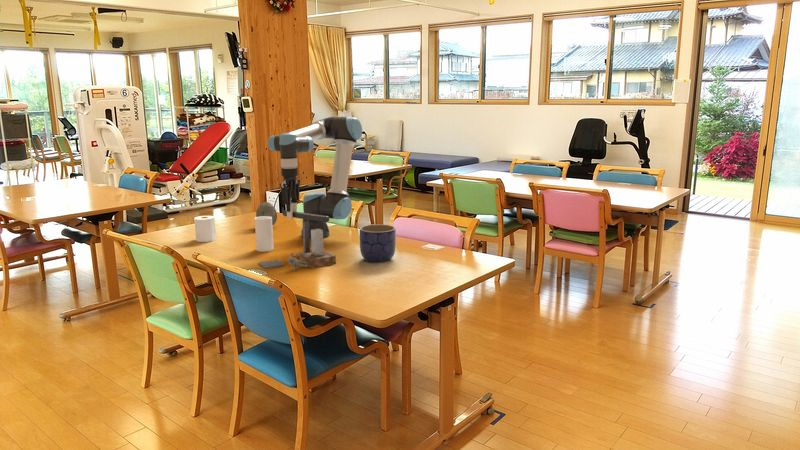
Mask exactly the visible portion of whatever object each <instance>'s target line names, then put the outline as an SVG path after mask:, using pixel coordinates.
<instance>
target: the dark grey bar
mask: <svg viewBox="0 0 800 450" xmlns="http://www.w3.org/2000/svg"><path fill="white" fill-rule="evenodd" d="M292 213H293V218H294V219H302V221H305V222H306V221H308V220H314V221H321V222H326V223H328V222H329V221H330V218H329V217H328V216H323V215H316V214H309V213H304V212H299V211H297V212H292ZM282 216H283V217H287V211H286V209H285V210H283V211H282Z"/></svg>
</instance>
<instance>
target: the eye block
mask: <svg viewBox="0 0 800 450" xmlns="http://www.w3.org/2000/svg"><path fill="white" fill-rule="evenodd" d="M323 250H324V256H319V257H313V256H312V252H309V253H303V252H302V253H303V254H300V258H299V259H300V260H299V261H302V262H306V264H305V265H307V267H309V268H312V269H313V268H317V267H323V266H328V265H329V266H330V265H335V264H336V263H337V260H336V259H337V258H336V257H337V256H336V255H335V254H332V253H331V252H328V251H327V250H325V249H323Z"/></svg>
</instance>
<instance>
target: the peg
mask: <svg viewBox="0 0 800 450" xmlns="http://www.w3.org/2000/svg"><path fill="white" fill-rule="evenodd" d="M310 249H311V251H312V256H313V257H319V256H324V250H325V249H324V238H323V230H321V229H313V230H311V238H310Z"/></svg>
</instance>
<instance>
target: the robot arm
mask: <svg viewBox="0 0 800 450" xmlns="http://www.w3.org/2000/svg"><path fill="white" fill-rule="evenodd" d="M362 135H363V126H362V124H361V121H360V120H359V119H358V118H356V117H353V116H330V117H329V116H328V117H325V118H321V119H319V120H316V121H314V122H312V124H310V125H308V126H303V127H301V128H298V129H295V130H292V131H289V132H284V133H281V134H278V135H277V134H275V135H270V136H269V137H268V139H267V148H268V149H269V150H270V151H272V152H280V155H279V156H280V167H281V169H280V170H281V171H280V173H281V174H280V175H281V177H282V178H283V181H282V182H281V183H280V182H279V186H280V191H281V192H280V193H281V199H282V200H281V201H282V204H283V205H285V210H286V211H287V216H286V218H287V219H293V218H294V217H293V213H292V212H298V210H297V209H298V207H297V206H298V205H297V204H298V203H299V202H300V186H301V185H300V184H301V180H300V179H298V178H297V176H298V175H299V170H298V166H299V165H298V154H301V153H307V152H311V151H312V150H313V148H314V143H315V142H314V141H315V140H319V141H321V140H323V139H332V140H333V141H334V143H335V145H336V146H335V154H334V161H333V168H332V175H331V180H330V181H331V182H330V189H329V190H328V191H326V193H325V192H321V191H320V192H319V191H317V192H311V193H307V194H304V196H303V198H302V199H303V201H302V204H303V207H302V208H303V213H309V214H316V215H323V216H328V217H329V219H334V220H345V219H346V218H348V217H349V216H350V214H351V212H352V210H353V209H352V208H353V203H352V199H350V194H349V193H348V191H347V190H348V183H349V174H350V168H351V162H352V161H351V160H352V154H353V149H354V148H353V147H354V146H356V145H357V141H359V140H360V139H361V137H362ZM308 221H309V239H311V230H313V229H321V230H323V239H324V238H327V237H329V236H330V227H328V222H321V221H314V220H308ZM300 234H301V237H302V238H303V226H302V228H301V231H300Z"/></svg>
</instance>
